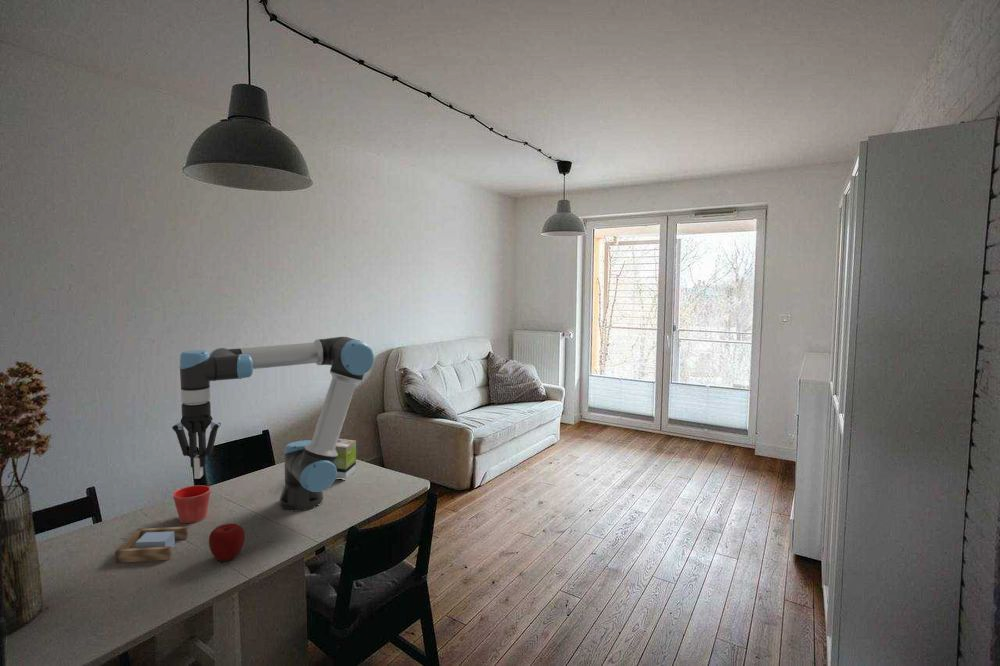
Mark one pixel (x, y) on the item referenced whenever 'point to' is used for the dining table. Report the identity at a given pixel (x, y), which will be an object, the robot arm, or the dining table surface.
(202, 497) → the flower pot
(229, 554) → the apple
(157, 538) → the block
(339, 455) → the tea box
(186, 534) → the bay
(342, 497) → the dining table surface
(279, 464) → the dining table surface
